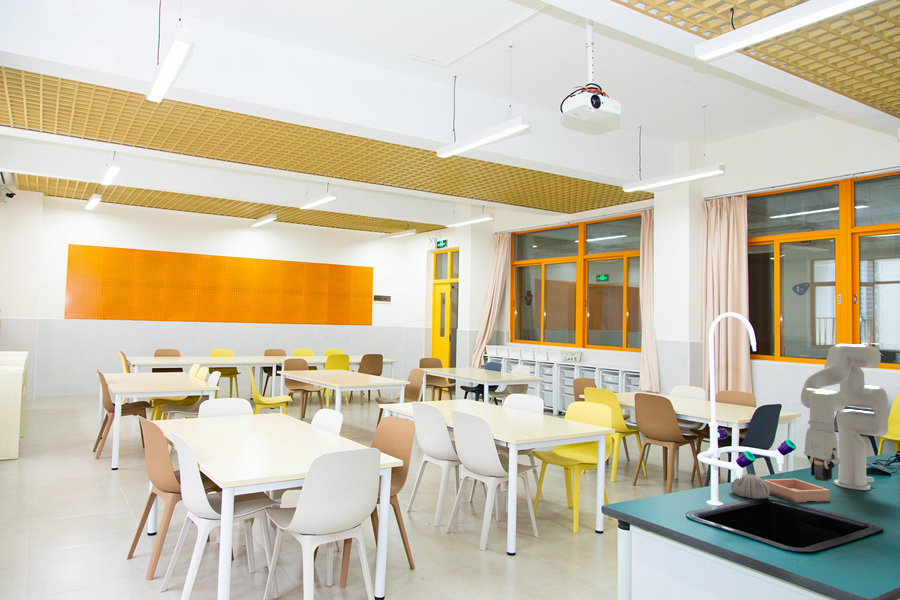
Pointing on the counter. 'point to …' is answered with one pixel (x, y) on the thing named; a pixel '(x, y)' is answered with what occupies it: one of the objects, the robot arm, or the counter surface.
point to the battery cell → (819, 469)
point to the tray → (797, 490)
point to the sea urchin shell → (750, 487)
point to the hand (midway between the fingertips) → (821, 476)
